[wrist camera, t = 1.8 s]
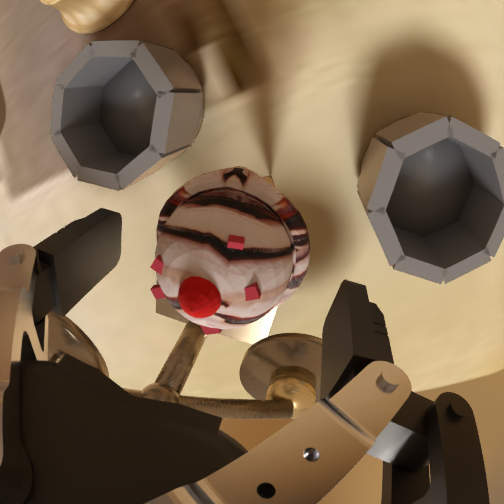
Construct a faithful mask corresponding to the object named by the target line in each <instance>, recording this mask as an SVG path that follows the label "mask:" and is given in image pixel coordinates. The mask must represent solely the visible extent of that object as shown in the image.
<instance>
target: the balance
mask: <svg viewBox="0 0 504 504" xmlns="http://www.w3.org/2000/svg"><path fill="white" fill-rule="evenodd" d="M158 284H159V282H158V279H157V285H158ZM277 307H278V306H277ZM277 307H275V308H273V309H272V310H271V311H270V312H269V313H268V314H266V315H265V316H264V317H262V318H261V319H259V320H257V321H255V322H253V323H251V324H249V325H246V326H243V327H239V328H233V329H222V331H221V333H218V334H221V335H224V336H227V337H230V338H234V339H237V340H240V341H243V342H247V343H250V344H253V345H252V346H251V347H250V348H249V349H248V350H247V352H246V353H245V355H244V358H243V360H242V364H241V367H240V380H241V383H242V385H243V387H244V388H245V390H246V391H247V392H248V393H249V394H250V395H251V396H252V397H253V398H255V399H256V400H248V399H222V398H206V397H193V396H182V395H180V393H181V391H182V389H183V387H184V385H185V382H186V380H187V378H188V376H189V374H190V372H191V369H192V367H193V365H194V363H195V361H196V358H197V356H198V354H199V352H200V350H201V348H202V345H203V343H204V341H205V339H206V337H207V335H208V334H207V335H205V334H204V332H203V330H202V328H201V326H200V325H199V324H196V323H194V322H192V321H190V320H188V319H187V318H185V317H184V316H182V315H181V314H180V313H179V312H178V311H176V310H175V308H174V307H173V306H172V305H171V304H170V303H169V301H168V300H167V298H161V299H156V313H159V314H161V315H164V316H167V317H170V318H173V319H176V320H178V321H181V322H184V323H187V324H186V326H185V328H184V330H183V332H182V333H181V335H180V337H179V339H178V341H177V342H176V344H175V346H174V348H173V350H172V352H171V353H170V355H169V357H168V359H167V361H166V362H165V364H164V366H163V368H162V370H161V372H160V373H159V375H158V377H157V379H156V381H155V383H153V384H150V385H148V386H146V387H145V388H144V389H143V390H142V391H139V390H132V389H126V388H123V389H124V390H125V391H127V392H128V393H129V394H131V395H133V396H137V397H142V398H148V399H154V400H160V401H166V402H172V403H179V404H182V405H185V406H188V407H191V408H193V409H196V410H199V411H202V412H205V413H208V414H212V415H215V416H218V417H221V418H222V419H296V418H297V417H299V416H300V415H301V414H303V413H304V412H305V411H307V410H308V409H309V408H310V407H312V406H313V405H314V404H316V403H317V402H318V401H320V385H321V364H322V339H321V338H318V337H315V336H312V335H307V334H300V333H282V334H276V335H272V336H268V333H269V330H270V327H271V324H272V322H273V319H274V316H275V313H276V310H277ZM47 317H48V361H53V362H58V363H59V361H60V360H61V359H62V358H63V357H64V355H65V354H66V353H67V354H69V355H71V356H73V357H75V358H77V359H79V360H80V361H82V362H84V363H86V364H88V365H90V366H92V367H94V368H96V369H99V370H100V371H101V372H102V373H104V374H105V375H106V376H107V377H109V373H108V369H107V366H106V363H105V361H104V359H103V357H102V355H101V354H100V352H99V350H98V349H97V348H96V346H95V345H94V344H93V342H92V341H91V340H90V339H89V337H88V336H87V335H86V334H85V333H84V332H83V331H82V330H81V329H80V328H79V327H78V326H77V325H76V324H75V323H74V322H73V321H71V320H70V319H69V318H68V317H66V316H64V317H61V316H59V315H57V314H56V313H54V312H52V311H50V312H49V313H48V314H47ZM267 336H268V337H267Z"/></svg>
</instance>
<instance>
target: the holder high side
mask: <svg viewBox="0 0 504 504" xmlns="http://www.w3.org/2000/svg"><path fill="white" fill-rule="evenodd" d="M56 81H57V83H58V84H55V85H54V94H53V103H52V115H51V130H50V134H53V137H52V138H51V139H52V141H53V142H54V144H55V146H56V148H57V149H58V151H59V153H60V155H61V156H62V158H63V160H64V161H65V163H66V165H67V166H68V168H69V170H70V171H71V173H72V175H73V176H74V178H75V177H78V180H79V181H83V182H87V183H91V184H95V185H99V186H102V187H106V188H110V189H114V190H118V191H119V190H121V189H122V190H123V189H125V188H127V187H129V186H131V185H132V184H134V183H136V182H138V181H140V180H142V179H144V178H145V177H147V176H149V175H151V174H153V173H155V172H157V171H158V170H159V169H161V168H162V167H163V166H165V165H166V164H167V163H169V162H170V161H172V160H174V159H176V158H177V157H179V156H180V155H181V154H183V153H184V152H185V151H186V150H187V149H188V148H190V147H191V146H192V145H191V144H192V143H194V140H195V138H196V136H197V134H198V133H199V130H200V128H201V125H202V121H203V117H204V110H205V99H204V92H203V88H202V84H201V82H200V79H199V77H198V75H197V74H196V72H195V70H194V69H193V68H192V67H191V65H190V64H189V63H188V62H187V61H185V60H184V59H183V58H181V57H180V55H179V54H178V53H177V51H174V50H173V49H170V48H167V47H163V46H159V45H155V44H151V43H147V42H143V41H138V40H119V41H92V44H90V43H88V44H87V46H86V47H85V48H84V49H83V50H82V51H81V52H80V53H79V54H78V55H77V56H76V58H75V59H74V60H73V61H72V62H71V63H70V64H69V66H68V67H67V68H66V69H65V70H64V71H63V73H62V74H61V75H60V76H59V78H58V79H57V80H56Z"/></svg>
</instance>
